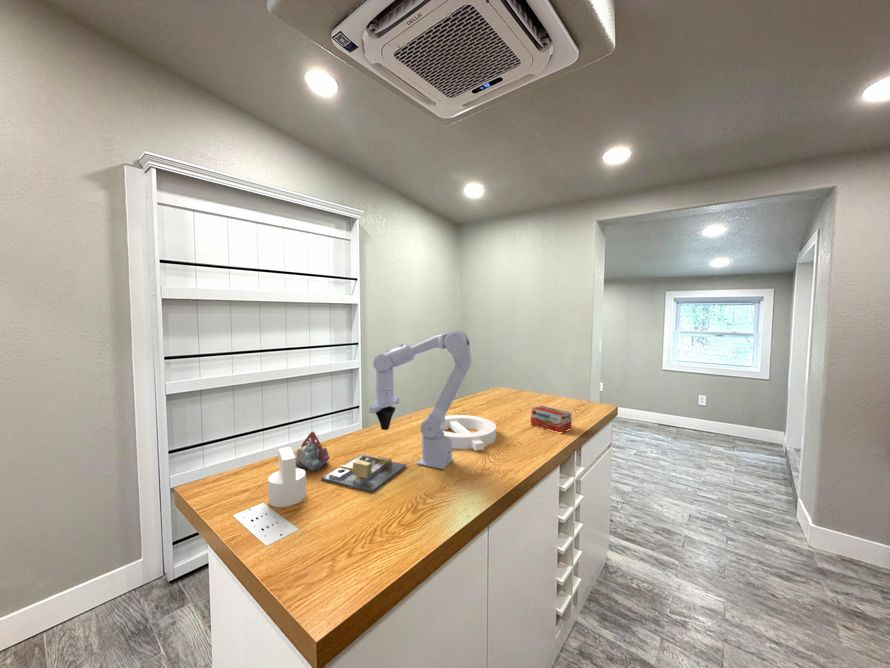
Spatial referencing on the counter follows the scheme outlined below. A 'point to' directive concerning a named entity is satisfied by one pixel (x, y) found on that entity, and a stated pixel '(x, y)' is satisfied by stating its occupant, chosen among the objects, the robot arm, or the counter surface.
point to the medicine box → (551, 418)
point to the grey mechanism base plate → (380, 475)
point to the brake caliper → (311, 454)
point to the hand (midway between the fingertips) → (385, 429)
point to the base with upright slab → (287, 481)
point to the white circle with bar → (464, 436)
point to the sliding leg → (360, 468)
